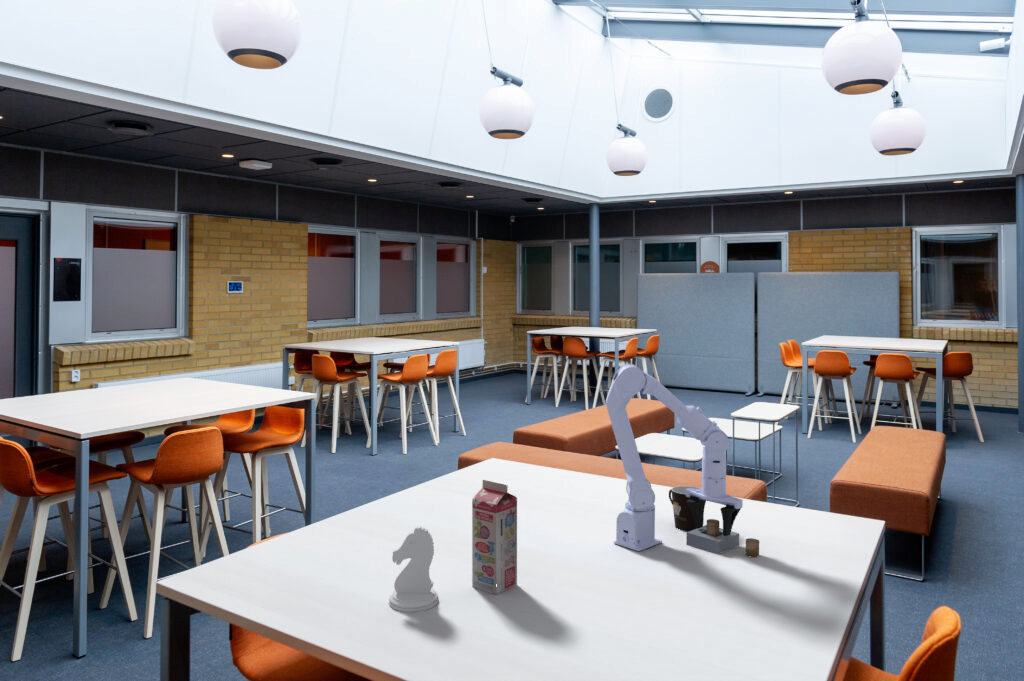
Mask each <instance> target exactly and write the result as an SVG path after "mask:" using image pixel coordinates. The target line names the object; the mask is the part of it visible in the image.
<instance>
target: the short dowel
mask: <svg viewBox="0 0 1024 681" xmlns="http://www.w3.org/2000/svg"><path fill="white" fill-rule="evenodd" d="M745 556H747V557H749V556H751V557H750V558H758V557H757V556H760V540H759V539H757V538H752V537H749V538H746V539H745Z"/></svg>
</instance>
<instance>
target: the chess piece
mask: <svg viewBox="0 0 1024 681" xmlns="http://www.w3.org/2000/svg"><path fill="white" fill-rule="evenodd" d="M434 544H435V543H434V540H433V538H432V534H431V533H430V531H429V530H428V528H426V527H422V526H421V525H420V526H415V527H414V530H413V531H411V532H409V533H408V534H407V535H406V537H405V539H404V540H403V542H402V543H401V545H400V546H399V547H398V548H397V549H394V550H393V551H392V562H393V563H394V564H395V563H396V565H397V566H400V565H401V564H402V562H403V561H404V560H407V559H409V561H408V562H407V563H406V565H405V566H404V567H403V568H402V570H401V571H400V572H399V573H398V575H397V576H396V578H395V580H394V583H393V584H394V590H393V591H392V592H391V594H390V595H389V597H388V605H389V607H390V608H391V609H394V610H396V611H399V612H404V613H405V612H406V613H415V612H422V611H427V610H428V609H432V608H434V607H435V606H437V604H438V602H439V596H438V593H437V591H436V590H435V589H434V588H433V587H434V581H432V579H431V577H430V566H431V565H432V562H433V558H434V555H435V549H434V548H435V547H434Z"/></svg>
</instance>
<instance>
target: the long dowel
mask: <svg viewBox="0 0 1024 681" xmlns="http://www.w3.org/2000/svg"><path fill="white" fill-rule="evenodd" d="M706 525H707V535H710V536H714V537H717V536H719V528H720V520H718V519H715V518H708V519H707V520H706Z"/></svg>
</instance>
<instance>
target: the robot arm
mask: <svg viewBox="0 0 1024 681" xmlns="http://www.w3.org/2000/svg"><path fill="white" fill-rule="evenodd" d="M639 392H641V393H642V395H648V396H649V395H650V396H653V397H654V398H656V399H657V400H658V401H659V402H661V403H662V405H664V406H665V407H667V408H668V409H669V410H670V411H672V412H673V413H674V415H676V420H677V421H676V422H677V424H678V425H679V426H681V427H682V428H683V429H684V430H685V431H686V432H688V433H689V434H690V435H691V436H692V437H693V438H694V439H695V440H697V441H699V442H700V443H701V445H702V458H701V488H702V490H701V489H694V488H688V489H686V497H690V498H689V500H687V504H688V506H689V507H690V509H691V512H692V514H693V517H694V521H695V525H696V528H698V529H699V528H701V527H703V526H704V519H705V518H704V517H705V516H704V514H705V513H704V512H705V506H706V502H711V503H714V504H715V503H716V504H719V505H723V506H722V507H720V512H721V517H722V529H723V536H728V535H730V533H731V531H732V529H733V526H734V523H735V520H736V518H737V516H738V514H739V513H740V511H741V509H742V508H743V505H744V504H743V502H744V501H743V499H741V498H738V497H735V496H733V495H730V494H727V492H726V491H727V450H728V449H729V447H730V441H729V438H728V435H727V434H726V433H725V432H724V431H723V430H722V429H721V428H720V427H719V426H718V423H717V422H716V421H714V420H713V421H712V420H711V419H709V418H708V417H707V416H706V415H705V414H703V413H702V412H703V411H704V410H702V408H701V407H699V406H697V407H696V406H695V405H693V404H691V405H685V404H684V403H683V402H682V401H681V400H680V399H679V398H678V397H676V396H675V395H674V394H673V393H672V392H671V391H670V390H669V389H667V388H666V386H664V385H663V384H662V383H661V382H660V381H659V380H658V379H656V378H655V377H654V376H652V375H650V374H649V373H647V372H646V371H644V370H642V369H640V367H638V366H637V365H635V364H632V363H626V364H624V365H623V364H622V365H621V366H620V367H619V368H618V370H617V371H616V372H615V373H614V374H613V377H612V380H611V382H610V387H609V389H608V392H607V396H606V399H605V406H606V409H607V412H608V416H609V420H610V423H611V424H610V425H611V427H612V431H613V435H614V437H615V440H616V444H617V449H618V452H619V455H620V459H621V462H622V466H623V469H624V473H625V477H626V487H625V488H626V493H627V496H628V500H627V501H626V502H625V506H624V507H625V508H624V510H623V511H621V512H619V514H618V515H617V517H616V531H615V532H616V537H615V538H616V540H614V541H613V544H615V545H618V546H622V547H625V548H629V549H631V550H634V551H637V552H641V551H643V550H646V549H648V548H651V547H654V546H656V545H659V544H661V543H662V542H663V540H661V539H658V538H655V536H656V535H655V534H656V527H655V526H656V525H655V524H656V505H655V502H656V494H655V491H654V490H653V488H652V484H651V482H650V481H649V480H648V478H647V476H646V474H645V471H644V467H643V464H642V461H641V456H640V454H639V450H638V447H637V444H636V440H635V436H634V432H633V429H632V425H631V423H630V419H629V415H628V411H627V406H628V404H629V403H630V401H631V399H632V398H633V397H634V396H635V395H636V394H638V393H639Z"/></svg>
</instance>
